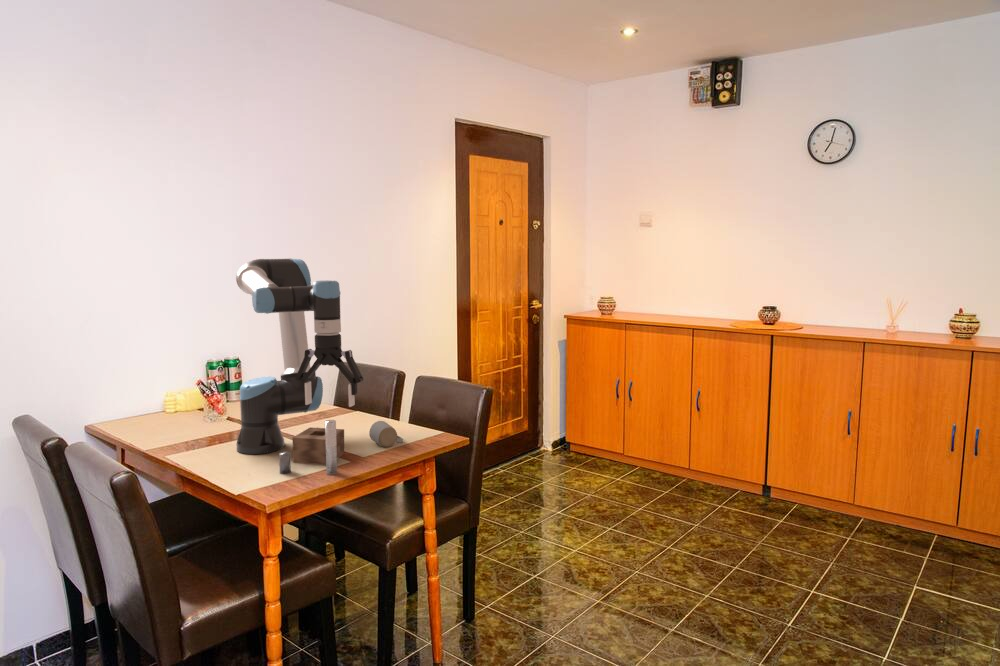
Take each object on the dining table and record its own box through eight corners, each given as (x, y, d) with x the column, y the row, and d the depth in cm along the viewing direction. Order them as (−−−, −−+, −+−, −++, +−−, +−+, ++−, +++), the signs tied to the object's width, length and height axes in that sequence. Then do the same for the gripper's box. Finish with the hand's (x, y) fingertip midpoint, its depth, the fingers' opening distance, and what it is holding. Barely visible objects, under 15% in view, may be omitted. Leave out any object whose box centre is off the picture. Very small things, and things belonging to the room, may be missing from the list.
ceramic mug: (379, 449, 224) (379, 427, 223) (368, 443, 231) (368, 421, 230) (407, 445, 230) (407, 423, 229) (396, 439, 237) (396, 418, 236)
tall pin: (324, 474, 200) (322, 422, 198) (329, 470, 203) (327, 419, 201) (334, 475, 199) (333, 422, 197) (339, 471, 202) (337, 420, 200)
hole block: (293, 462, 211) (292, 437, 210) (310, 450, 222) (309, 427, 221) (329, 464, 209) (328, 439, 208) (344, 452, 220) (344, 429, 219)
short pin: (277, 473, 200) (277, 454, 199) (283, 470, 203) (282, 451, 203) (287, 474, 200) (287, 455, 199) (292, 470, 203) (292, 451, 202)
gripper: (281, 334, 194) (284, 405, 197) (363, 336, 190) (365, 409, 192) (294, 331, 201) (296, 400, 204) (373, 333, 197) (374, 403, 200)
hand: (330, 404), depth 198 cm, fingers open, 13 cm apart
